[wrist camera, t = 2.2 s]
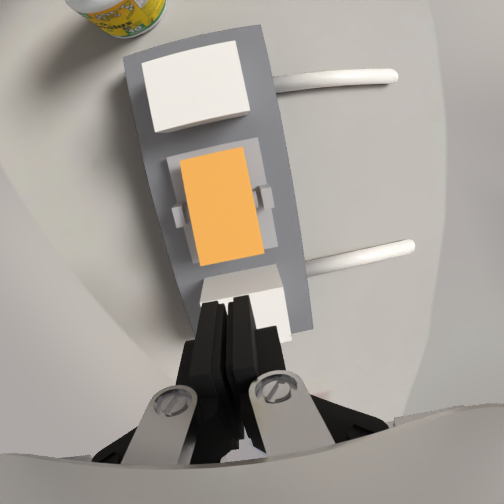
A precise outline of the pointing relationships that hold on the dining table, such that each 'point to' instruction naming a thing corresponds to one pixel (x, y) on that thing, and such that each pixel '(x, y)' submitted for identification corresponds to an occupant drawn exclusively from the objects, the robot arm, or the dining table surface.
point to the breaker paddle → (221, 206)
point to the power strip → (257, 159)
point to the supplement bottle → (121, 15)
